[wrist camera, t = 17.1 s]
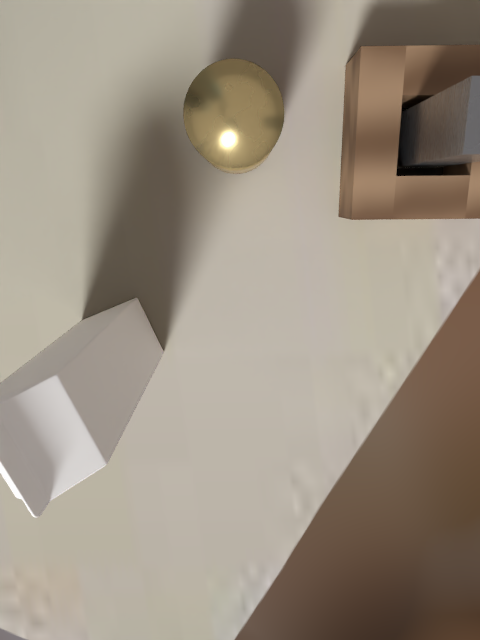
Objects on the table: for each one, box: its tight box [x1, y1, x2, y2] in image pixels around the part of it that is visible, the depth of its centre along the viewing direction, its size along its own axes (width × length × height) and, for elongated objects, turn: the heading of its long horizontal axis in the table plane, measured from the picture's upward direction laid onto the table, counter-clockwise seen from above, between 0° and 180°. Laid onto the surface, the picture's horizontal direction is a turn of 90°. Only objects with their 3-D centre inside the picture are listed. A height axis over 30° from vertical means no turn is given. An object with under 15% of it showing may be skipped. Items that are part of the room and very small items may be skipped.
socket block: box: [339, 45, 480, 220], centre depth 36 cm, size 12×12×5 cm
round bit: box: [183, 59, 284, 174], centre depth 34 cm, size 7×7×9 cm
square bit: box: [397, 76, 480, 168], centre depth 32 cm, size 4×4×14 cm
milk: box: [0, 298, 164, 517], centre depth 33 cm, size 6×6×22 cm
